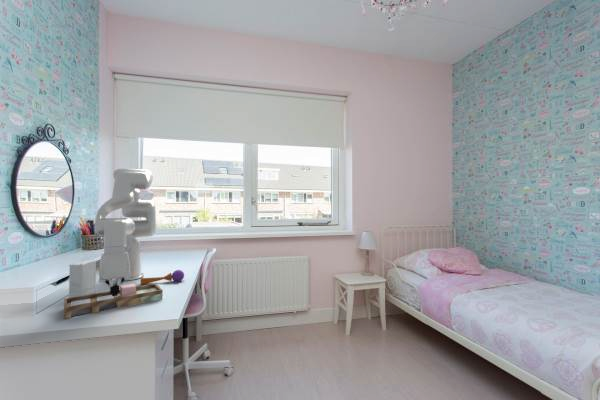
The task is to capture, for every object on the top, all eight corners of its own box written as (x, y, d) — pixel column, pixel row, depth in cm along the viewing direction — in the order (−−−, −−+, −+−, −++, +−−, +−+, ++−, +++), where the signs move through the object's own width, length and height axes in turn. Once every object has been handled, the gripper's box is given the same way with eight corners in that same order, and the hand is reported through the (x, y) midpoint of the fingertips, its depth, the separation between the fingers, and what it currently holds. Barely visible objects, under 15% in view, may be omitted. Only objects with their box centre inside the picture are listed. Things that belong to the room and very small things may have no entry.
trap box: (63, 319, 97) (63, 307, 97) (64, 309, 106) (64, 298, 106) (162, 299, 117) (162, 289, 117) (155, 292, 126) (155, 283, 126)
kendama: (141, 275, 141) (183, 269, 149) (142, 287, 140) (184, 280, 148) (139, 275, 136) (183, 269, 143) (140, 288, 135) (184, 281, 142)
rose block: (120, 295, 115) (120, 285, 115) (133, 292, 118) (134, 283, 118) (121, 298, 111) (121, 288, 111) (136, 295, 114) (136, 286, 114)
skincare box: (83, 292, 126) (84, 259, 126) (96, 292, 125) (97, 259, 126) (67, 298, 117) (68, 263, 117) (81, 298, 117) (82, 264, 117)
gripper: (134, 247, 119) (134, 289, 119) (91, 250, 110) (91, 296, 109) (137, 249, 113) (137, 293, 113) (92, 253, 104) (92, 302, 104)
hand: (114, 295), depth 111 cm, fingers closed
